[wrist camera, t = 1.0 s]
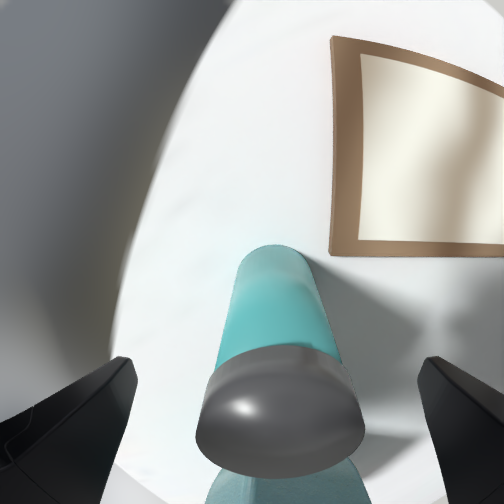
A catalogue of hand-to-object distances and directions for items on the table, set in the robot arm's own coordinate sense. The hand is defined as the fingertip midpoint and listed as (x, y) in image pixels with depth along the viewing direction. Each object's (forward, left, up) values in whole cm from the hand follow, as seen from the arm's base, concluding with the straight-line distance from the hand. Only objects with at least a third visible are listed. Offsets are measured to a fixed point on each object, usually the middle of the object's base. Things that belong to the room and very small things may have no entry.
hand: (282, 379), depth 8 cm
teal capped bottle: (0, 0, -7) cm, 7 cm away
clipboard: (-10, -7, -7) cm, 14 cm away
